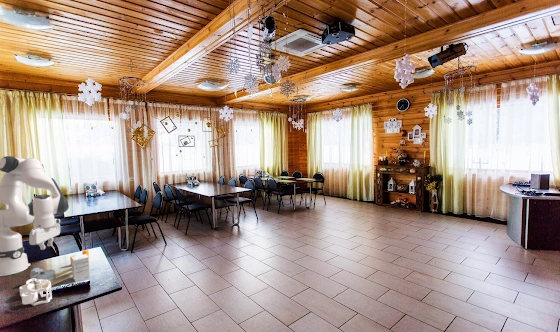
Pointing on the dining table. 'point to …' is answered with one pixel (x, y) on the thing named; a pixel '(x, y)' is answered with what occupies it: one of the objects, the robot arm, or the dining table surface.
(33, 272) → the stepped grey block
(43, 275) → the wooden rectangular frame
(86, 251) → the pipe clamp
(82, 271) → the supplement box
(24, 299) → the car outline toy
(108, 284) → the dining table surface
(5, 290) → the dining table surface
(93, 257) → the dining table surface
